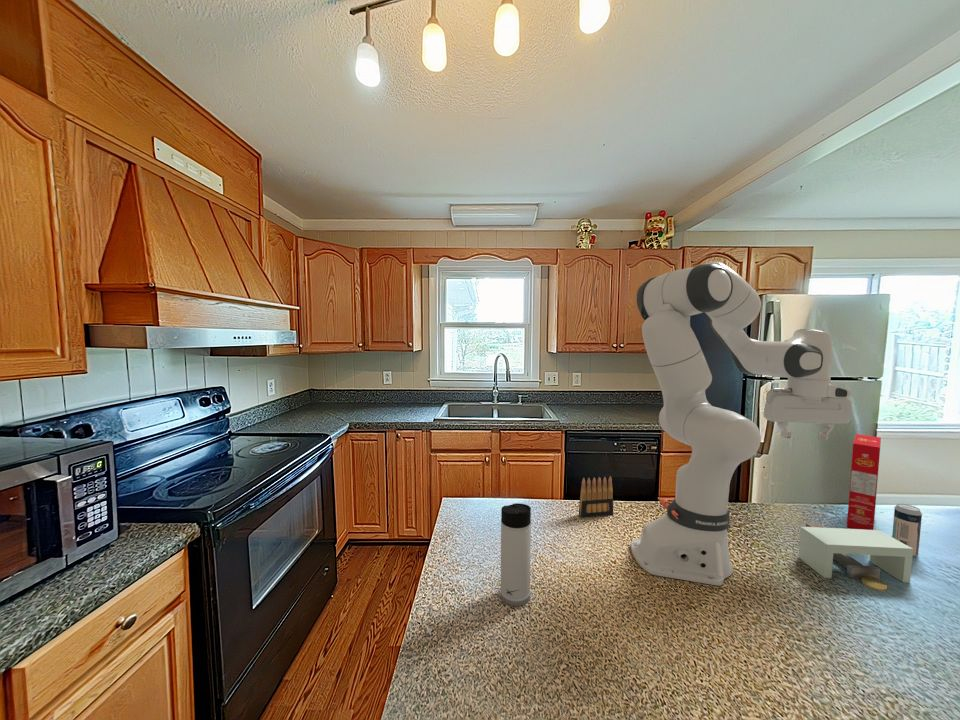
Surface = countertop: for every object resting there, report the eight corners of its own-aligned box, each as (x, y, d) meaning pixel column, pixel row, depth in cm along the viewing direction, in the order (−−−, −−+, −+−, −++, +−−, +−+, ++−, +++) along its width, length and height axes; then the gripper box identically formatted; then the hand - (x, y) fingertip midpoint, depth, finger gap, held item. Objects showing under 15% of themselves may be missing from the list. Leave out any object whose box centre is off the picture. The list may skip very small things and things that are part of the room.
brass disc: (872, 591, 83) (872, 586, 83) (856, 580, 87) (856, 574, 87) (892, 593, 82) (892, 587, 82) (875, 581, 86) (875, 576, 86)
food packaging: (850, 511, 119) (856, 434, 118) (874, 517, 116) (881, 437, 114) (846, 527, 109) (853, 443, 108) (872, 535, 106) (880, 447, 104)
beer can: (924, 558, 94) (928, 512, 94) (901, 556, 95) (905, 510, 95) (907, 548, 99) (911, 503, 98) (885, 545, 100) (889, 502, 99)
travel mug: (511, 612, 76) (512, 516, 75) (495, 592, 82) (495, 502, 80) (536, 601, 79) (538, 509, 77) (519, 583, 85) (520, 496, 83)
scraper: (850, 578, 87) (852, 557, 86) (798, 540, 103) (800, 522, 102) (879, 580, 86) (881, 559, 86) (822, 541, 102) (823, 523, 102)
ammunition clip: (581, 517, 115) (582, 479, 114) (578, 514, 117) (579, 476, 116) (613, 514, 117) (614, 477, 116) (610, 511, 119) (611, 474, 118)
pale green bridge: (824, 577, 87) (826, 544, 86) (798, 557, 95) (800, 526, 94) (910, 582, 85) (913, 548, 85) (876, 561, 93) (878, 530, 93)
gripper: (774, 389, 101) (771, 439, 102) (858, 391, 99) (854, 443, 100) (760, 386, 108) (756, 433, 109) (838, 388, 106) (834, 436, 107)
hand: (804, 438), depth 104 cm, fingers open, 8 cm apart
